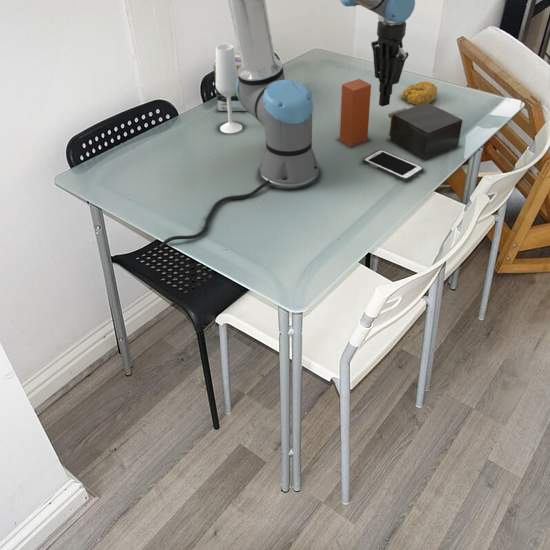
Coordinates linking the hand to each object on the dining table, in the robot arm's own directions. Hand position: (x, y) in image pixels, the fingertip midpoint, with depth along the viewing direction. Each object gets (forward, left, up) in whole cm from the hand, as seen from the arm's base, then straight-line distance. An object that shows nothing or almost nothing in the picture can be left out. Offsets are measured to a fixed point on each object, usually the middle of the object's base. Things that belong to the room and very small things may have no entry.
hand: (384, 104), depth 180 cm
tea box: (-27, +35, -6) cm, 45 cm away
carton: (-14, -4, -6) cm, 15 cm away
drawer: (+1, -13, -5) cm, 14 cm away
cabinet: (+1, -17, -6) cm, 18 cm away
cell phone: (-15, -21, -6) cm, 26 cm away
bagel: (+19, +5, -6) cm, 21 cm away
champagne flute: (-38, +24, -6) cm, 45 cm away
